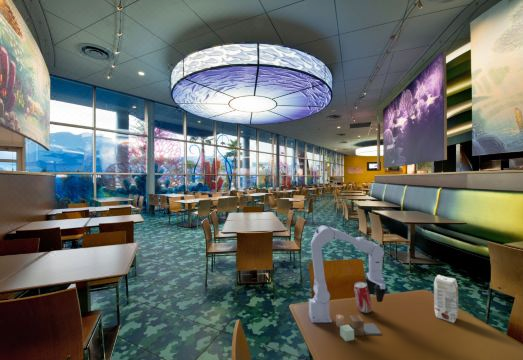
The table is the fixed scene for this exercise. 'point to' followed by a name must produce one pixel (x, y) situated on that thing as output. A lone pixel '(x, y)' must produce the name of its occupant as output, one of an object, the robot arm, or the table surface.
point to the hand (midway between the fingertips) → (375, 297)
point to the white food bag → (446, 298)
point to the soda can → (362, 297)
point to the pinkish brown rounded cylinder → (339, 320)
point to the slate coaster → (371, 329)
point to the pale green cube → (346, 332)
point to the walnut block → (356, 324)
